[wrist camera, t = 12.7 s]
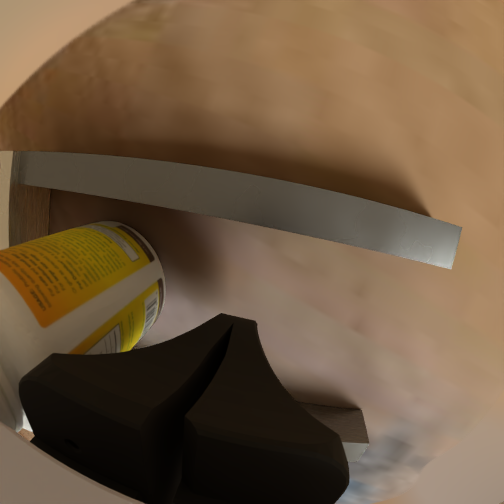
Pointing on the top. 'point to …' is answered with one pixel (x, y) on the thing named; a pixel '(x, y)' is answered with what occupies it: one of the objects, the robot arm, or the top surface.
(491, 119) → the top surface
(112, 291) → the supplement bottle
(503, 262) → the top surface
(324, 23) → the top surface
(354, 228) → the bay
